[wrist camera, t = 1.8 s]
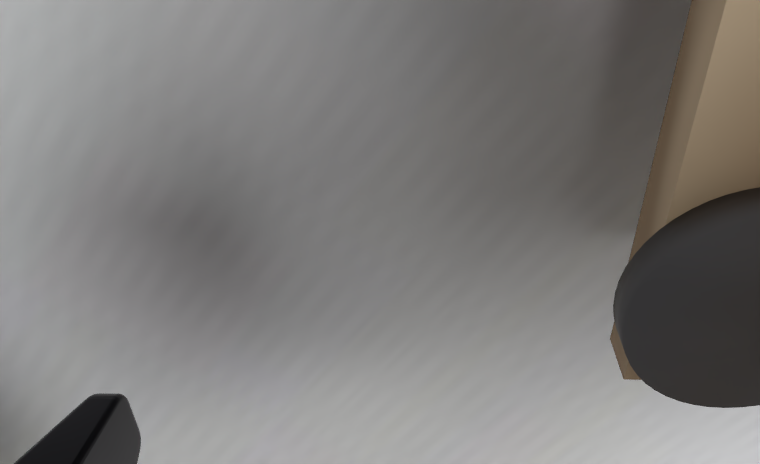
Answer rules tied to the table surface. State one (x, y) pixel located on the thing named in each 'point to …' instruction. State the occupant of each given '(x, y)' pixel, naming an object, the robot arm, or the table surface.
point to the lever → (701, 224)
